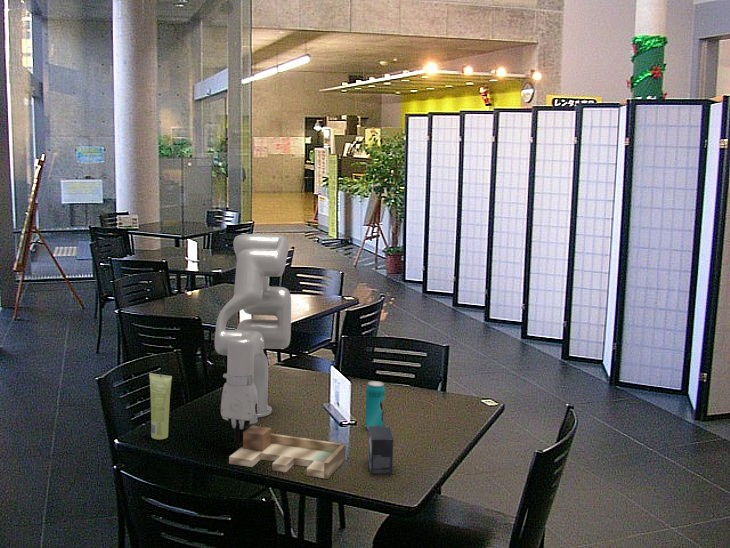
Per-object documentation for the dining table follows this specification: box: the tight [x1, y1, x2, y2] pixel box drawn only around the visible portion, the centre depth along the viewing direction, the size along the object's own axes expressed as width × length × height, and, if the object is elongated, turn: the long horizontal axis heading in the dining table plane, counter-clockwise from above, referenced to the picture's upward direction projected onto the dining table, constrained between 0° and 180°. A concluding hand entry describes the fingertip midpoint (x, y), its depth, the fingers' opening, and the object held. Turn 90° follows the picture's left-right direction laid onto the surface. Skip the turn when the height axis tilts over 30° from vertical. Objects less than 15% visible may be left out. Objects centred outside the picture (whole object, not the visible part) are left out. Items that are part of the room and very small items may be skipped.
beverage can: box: [365, 380, 386, 431], centre depth 258 cm, size 6×6×15 cm
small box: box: [367, 425, 395, 476], centre depth 228 cm, size 11×6×10 cm, turn 5°
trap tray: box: [228, 433, 347, 480], centre depth 230 cm, size 30×15×4 cm, turn 74°
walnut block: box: [242, 424, 272, 452], centre depth 235 cm, size 6×6×5 cm
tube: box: [148, 372, 173, 440], centre depth 244 cm, size 6×5×20 cm
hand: (239, 440), depth 236 cm, fingers closed
